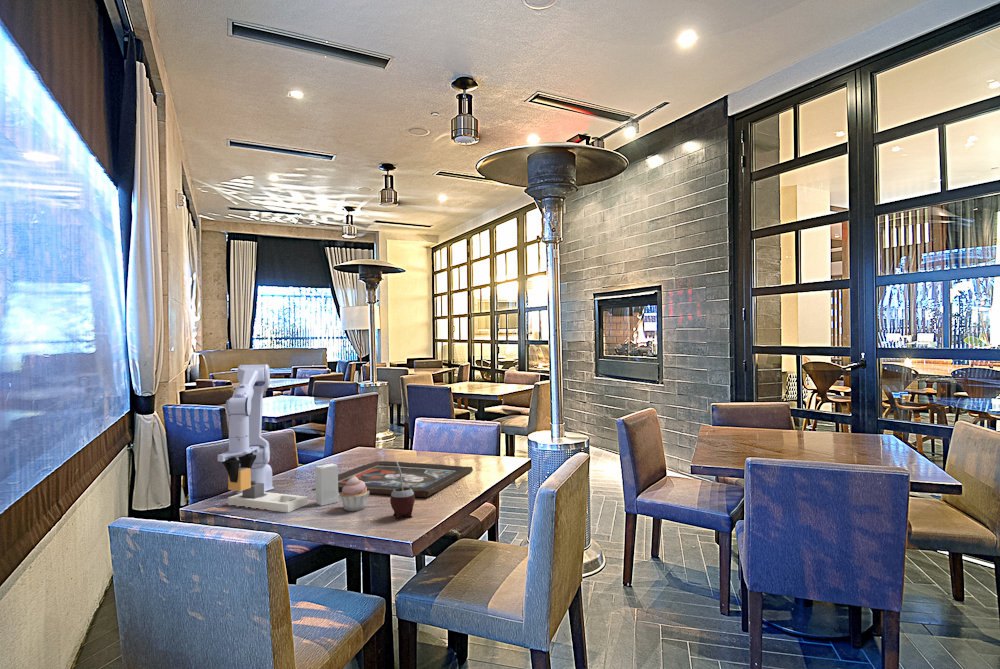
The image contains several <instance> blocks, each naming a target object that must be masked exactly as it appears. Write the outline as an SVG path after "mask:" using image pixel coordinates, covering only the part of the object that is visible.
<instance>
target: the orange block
mask: <svg viewBox="0 0 1000 669" xmlns="http://www.w3.org/2000/svg"><path fill="white" fill-rule="evenodd" d="M227 480H228V481H227V485H228V486H227V487H228V491H236V492H238V491H242V490H246V489H249V488H251V468H244V467H241V466H239V468H238V480H237V482H230V478H229V475H228V474H227Z"/></svg>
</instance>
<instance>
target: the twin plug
mask: <svg viewBox="0 0 1000 669" xmlns="http://www.w3.org/2000/svg"><path fill="white" fill-rule="evenodd" d="M242 491H243V498H251V499H255V498H258V497H260V496H263V495H264V483H256V481H251V488H249V489H246V490H242Z"/></svg>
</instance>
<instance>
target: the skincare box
mask: <svg viewBox="0 0 1000 669" xmlns="http://www.w3.org/2000/svg"><path fill="white" fill-rule="evenodd" d="M338 467H339V465H337V464H335V463H332V462H331V463H327V464H322V465H315V467H314V474H315V475H314V476H315V478H314V480H315V481H314V482H315V483H314V484H315V503H316V504H317V505H319V506H326V505H327V506H328V505H331V504H335V503H339V491H338V475H339V468H338Z"/></svg>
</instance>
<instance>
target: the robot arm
mask: <svg viewBox="0 0 1000 669" xmlns="http://www.w3.org/2000/svg"><path fill="white" fill-rule="evenodd" d="M236 370H237V372H236V373H237V374H236V375H237V381H238V383H239V384H238V385H236V387H235V389H234V391H233V394H232V397H230V398H229V399H227V400H226V402H225V413H226V422H227V423H228V450H227V451H225V452H222V453H221V454H217V462H221V463H222V465H223V466H224V467H225V470H226V472H227V476H228V475H229V478H230V482H237V480H238V468H239V467H244V468H251V481H256V483H264V492H268V491H272V490H274V489H275V487H274V486H273V469H272V466H271V465H270V464H269V462H270V459H271V458H270V457H271V450H270V443H269V441H268V440H266V438H264V437H262V427H263V426H262V424H263V396H264V393H265V390H268V389H269V387H270V382H271V381H270V380H271V377H270V376H271V369H270V366H269V365H268V364H266V363H265V364H239V365H238V366H237V369H236ZM240 493H243V491H236V494H240Z"/></svg>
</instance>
